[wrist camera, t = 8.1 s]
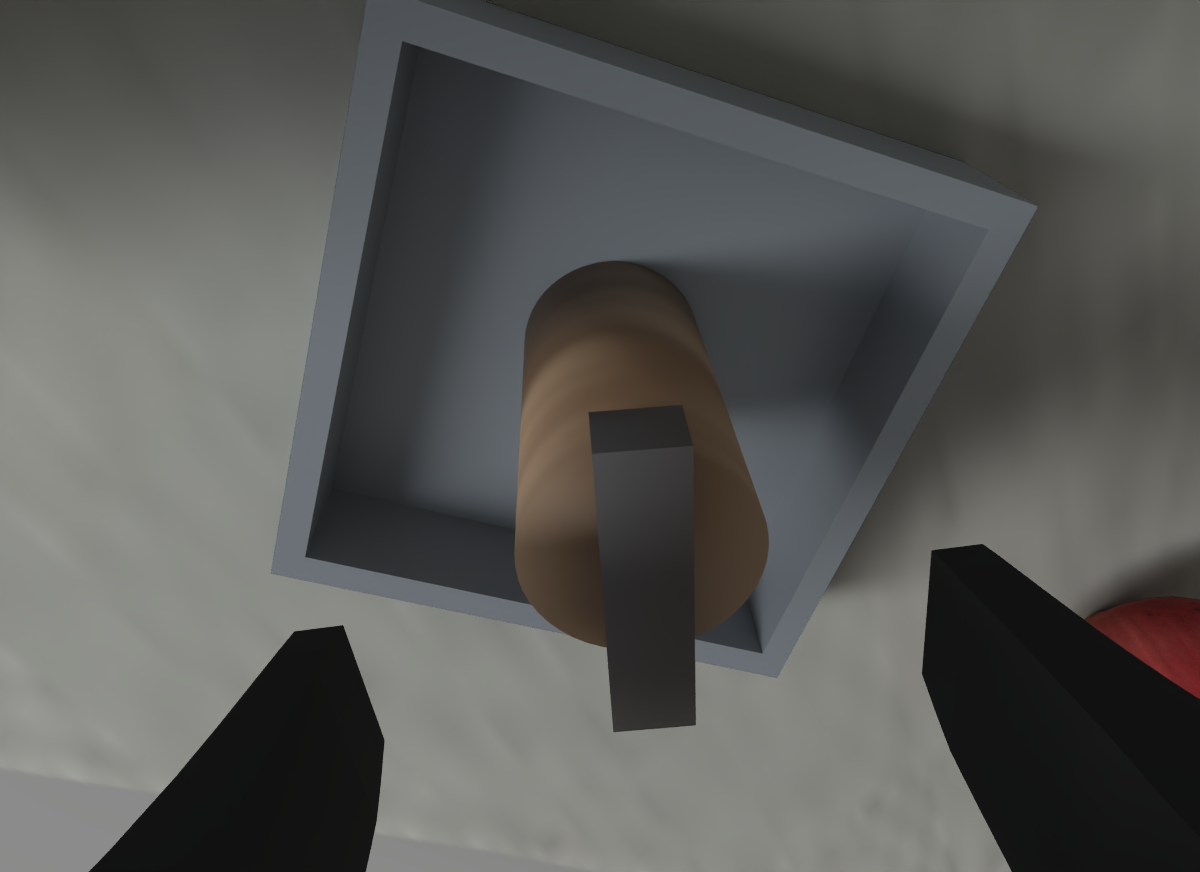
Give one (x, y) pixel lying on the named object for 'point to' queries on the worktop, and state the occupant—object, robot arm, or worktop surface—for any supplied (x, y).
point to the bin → (612, 234)
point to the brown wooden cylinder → (631, 486)
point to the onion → (1158, 635)
